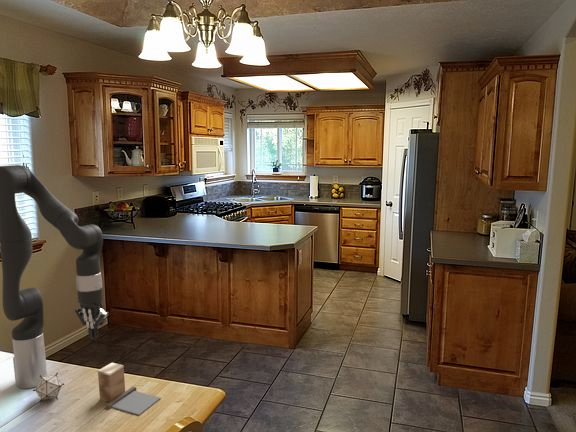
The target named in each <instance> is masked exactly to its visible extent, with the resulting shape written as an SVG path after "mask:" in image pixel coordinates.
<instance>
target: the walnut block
mask: <svg viewBox="0 0 576 432" xmlns="http://www.w3.org/2000/svg"><path fill="white" fill-rule="evenodd" d="M124 366H125V365H124V364H119V363H115V362H111V363H108V364H107V365H105V366H103V367H102V368H99V369H98V370H97V376H98V389H99V400H100V401H104V402H108V403H109V402H111V401H112V400H114V399H115V398H117V397H118V396H120V395H121V394H123V393H124V392H126V384H125V383H126V381H125V369H124V368H125V367H124Z"/></svg>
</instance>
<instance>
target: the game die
mask: <svg viewBox="0 0 576 432" xmlns="http://www.w3.org/2000/svg"><path fill="white" fill-rule="evenodd" d="M58 374H59V373H58V372H56V373H55V374H51V375H47V376H44V377H42V376H41V375H40V377H41V379H40V381H39V383H38V385H37V386H36V387H35V389H32V392H36V394H37V396H38V397H39V399H40V400H39V403H42V401H44V400H50V399H56V400H59V397H58V396H59V393H60V391H61V389H62V386H64V385H65V383H64V382H63V383H62V381H61V380H60V378H59V376H58Z"/></svg>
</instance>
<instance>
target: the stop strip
mask: <svg viewBox="0 0 576 432" xmlns="http://www.w3.org/2000/svg"><path fill="white" fill-rule="evenodd" d="M133 391H137V387H135V386H131V387H130V388H129V389H127V390H125V392H124V393H123V394H121V395H120V396H118V397H117V398H115V399H114V400H112V401H111V402H108V403H106V404H105V409H108V410H111V409H112V406H113V405H114V404H116V403H117V402H119V401H120V400H121V399H123V398H124V397H126V396H127V395H129V394H130V393H132V392H133Z"/></svg>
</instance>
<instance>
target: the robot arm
mask: <svg viewBox="0 0 576 432" xmlns="http://www.w3.org/2000/svg"><path fill="white" fill-rule="evenodd" d="M17 194H24V195H27V196H28V197H30V198H31V199H33V200H34V201H35V203H36V205H37V207H38V210H39V212H40V214H41V216H42V217H43V218H44V219H45V220H46V221H47V222H48V223H49V224H51V225H52V226H53V227H54V228H55V229H57V231H59V232H60V234H61V236H62V237H63V238H64V240H65V241H66V243H67V244H68V245H69V246H70V247H72V249H75V250H82V253H81V254H80V255H79V256H78V257H77V258H76V259H75V268H76V269H75V270H76V291H77V294H76V295H77V303H79V307H78V308H77V309H75V310H74V312H75V314H76V316H77V317H78V319H79V320H80V322H81V324H82V326H86V327H87V329H88V330H87V332H88V337H89V339H92V340H95V339H97V338H98V337H99V327H100V326H103V325H104V323H105V322H106V321H107V318H108V316H109V315H110V313H109V311H105V310H104V305H103V303H102V302H103V300H104V288H103V277H102V272H101V263H100V260H101V255H102V250H103V244H104V234H103V232H102V230H101V228H100V227H99V226H98V225H96V224H87V225H82V226H79V225H78V224H79V217H78V215H77V214H76V213H75V212H74V211H73V210H71V209H70V208H69V207H67V206H66V205H65V204H64V203H62V202H61V201H60V200H58V198H56V197H55V196H54V194H52V192H50V190H48V188H47V187H46V186H45V184H44V183H43V182H42V181H41V180H39V178H38V177H37V175H36V174H35V173H33V172H32V171H31V169H29V168H28V167H27V166H24V165H19V164H16V165H15V164H13V165H12V164H11V165H1V166H0V259H1V261H0V262H1V269H2V297H1V298H2V311H3V313H4V316H5V317H6V318H7V320H9V321H12V322H13V321H17V320H18V321H19V320H21V319H22V320H21V321H20V322H19V323H18V324H17V325H16V326H14V327H13V329H12V330H11V340H12V349H13V357H12V361H13V369H14V370H13V372H14V380H15V382H14V383H15V384H16V386H17V387H18V388H20V389H32V388H36V387H37V385H38V383H39V381H40V379H41V377H40V375H41V376H42V377H44V376H48V371H47V361H46V360H47V358H46V350H45V349H46V348H45V337H44V326H45V318H44V317H45V313H44V312H45V310H44V299H43V295H42V293H41V291H40V290H39V289H38V288H36V287H27V288H24V289H21V290H20V285H21V279H22V277H23V274H24V271H26V270H25V269H26V268H27V266H28V264H29V262H30V260H31V258H32V255H33V237H32V231H31V230H30V229H31V228H30V227H29V226H28V224H27V223H26V221H25V220H24V218H22V216H21V215H20V212H19V211H18V208H17V203H16V195H17Z"/></svg>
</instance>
